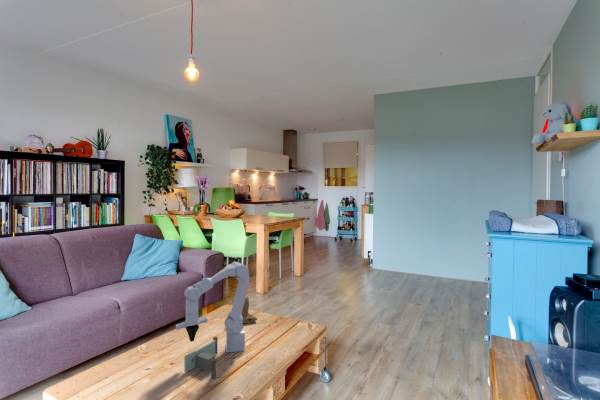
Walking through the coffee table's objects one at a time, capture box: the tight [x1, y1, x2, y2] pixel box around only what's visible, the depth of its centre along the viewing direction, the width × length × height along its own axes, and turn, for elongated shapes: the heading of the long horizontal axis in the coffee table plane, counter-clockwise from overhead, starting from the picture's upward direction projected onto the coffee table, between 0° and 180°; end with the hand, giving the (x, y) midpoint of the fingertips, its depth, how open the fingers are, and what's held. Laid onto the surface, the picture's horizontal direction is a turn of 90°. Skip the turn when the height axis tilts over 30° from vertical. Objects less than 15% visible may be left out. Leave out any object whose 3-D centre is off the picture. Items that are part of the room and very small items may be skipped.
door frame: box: [210, 336, 219, 380], centre depth 152 cm, size 2×24×8 cm, turn 13°
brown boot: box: [232, 295, 258, 324], centre depth 204 cm, size 15×12×15 cm
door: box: [183, 339, 218, 373], centre depth 153 cm, size 19×2×7 cm, turn 150°
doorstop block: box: [195, 351, 216, 374], centre depth 149 cm, size 8×4×6 cm, turn 60°
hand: (191, 340), depth 154 cm, fingers closed
